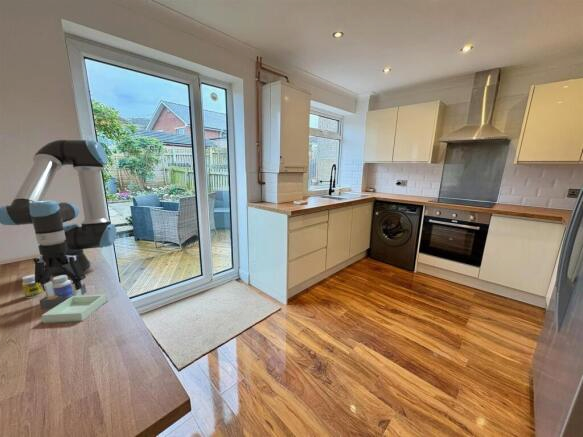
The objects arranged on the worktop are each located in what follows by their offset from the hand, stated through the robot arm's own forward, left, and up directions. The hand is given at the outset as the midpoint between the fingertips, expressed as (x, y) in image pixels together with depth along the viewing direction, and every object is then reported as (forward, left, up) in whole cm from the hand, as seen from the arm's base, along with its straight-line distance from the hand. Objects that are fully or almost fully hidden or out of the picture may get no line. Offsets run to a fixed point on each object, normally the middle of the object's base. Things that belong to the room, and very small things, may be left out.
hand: (64, 297), depth 93 cm
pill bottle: (0, 0, -1) cm, 1 cm away
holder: (0, 0, -1) cm, 1 cm away
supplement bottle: (-5, -16, -1) cm, 17 cm away
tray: (+9, +11, -1) cm, 15 cm away
